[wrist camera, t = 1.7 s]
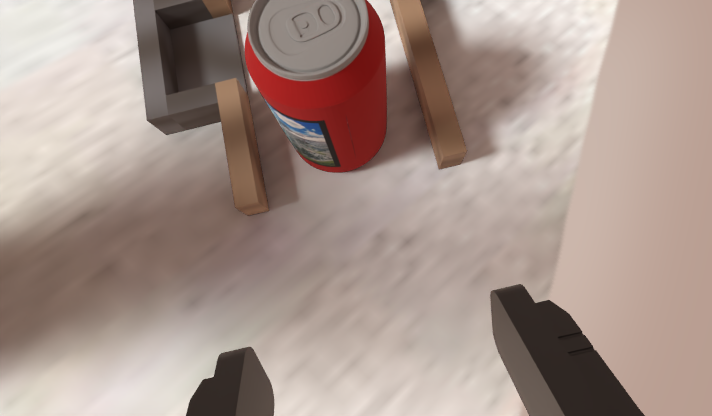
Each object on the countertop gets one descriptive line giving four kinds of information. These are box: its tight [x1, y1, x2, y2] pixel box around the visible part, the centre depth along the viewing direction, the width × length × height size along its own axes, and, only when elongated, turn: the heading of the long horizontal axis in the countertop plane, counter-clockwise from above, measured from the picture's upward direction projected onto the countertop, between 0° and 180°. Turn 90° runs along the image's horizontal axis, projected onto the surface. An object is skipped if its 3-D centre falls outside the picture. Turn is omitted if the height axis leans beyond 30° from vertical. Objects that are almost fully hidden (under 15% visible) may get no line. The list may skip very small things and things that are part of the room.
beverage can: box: [245, 0, 387, 172], centre depth 24 cm, size 7×7×12 cm
